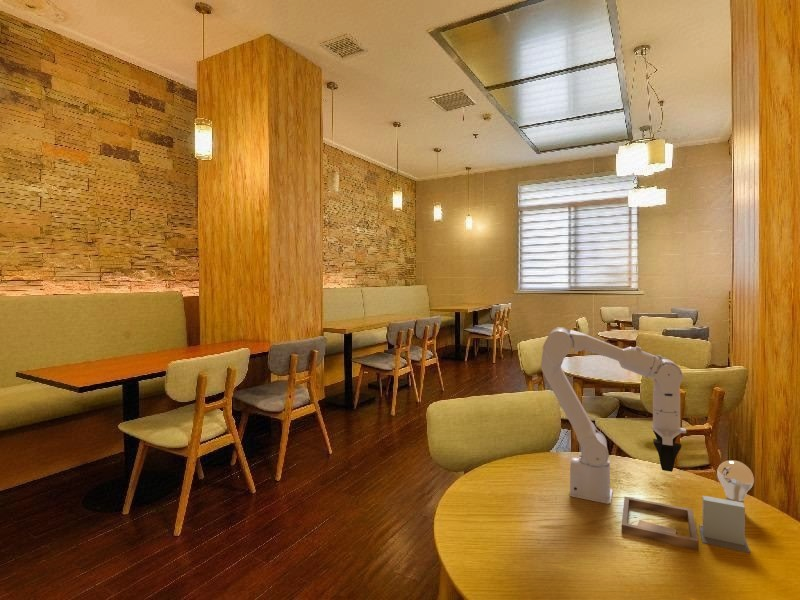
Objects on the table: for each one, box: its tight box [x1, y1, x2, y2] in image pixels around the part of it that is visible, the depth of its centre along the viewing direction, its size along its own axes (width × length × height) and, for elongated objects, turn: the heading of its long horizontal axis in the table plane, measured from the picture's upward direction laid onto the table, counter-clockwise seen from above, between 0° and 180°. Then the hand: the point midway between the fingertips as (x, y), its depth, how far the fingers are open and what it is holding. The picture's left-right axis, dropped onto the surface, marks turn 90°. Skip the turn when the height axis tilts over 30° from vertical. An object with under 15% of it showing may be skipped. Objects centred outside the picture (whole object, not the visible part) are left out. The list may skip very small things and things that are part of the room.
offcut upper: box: [636, 519, 678, 535], centre depth 97 cm, size 7×3×1 cm, turn 53°
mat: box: [698, 525, 751, 554], centre depth 94 cm, size 8×7×1 cm
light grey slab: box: [702, 495, 746, 545], centre depth 94 cm, size 7×2×8 cm, turn 61°
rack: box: [621, 496, 699, 551], centre depth 100 cm, size 14×14×2 cm
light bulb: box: [716, 459, 755, 505], centre depth 105 cm, size 7×7×12 cm
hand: (666, 464), depth 108 cm, fingers open, 7 cm apart
